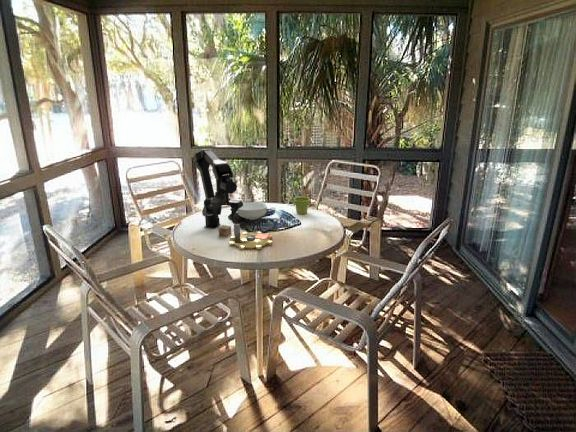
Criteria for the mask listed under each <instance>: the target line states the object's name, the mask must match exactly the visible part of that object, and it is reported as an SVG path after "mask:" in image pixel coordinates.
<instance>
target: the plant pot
mask: <svg viewBox="0 0 576 432" xmlns="http://www.w3.org/2000/svg"><path fill="white" fill-rule="evenodd" d="M310 200H311V198H309V197H307V196H296V197H294V198H293V201H294V203H295V205H294V206H295V211H296V214H297V215H305V214H308V209H309V204H310Z"/></svg>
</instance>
